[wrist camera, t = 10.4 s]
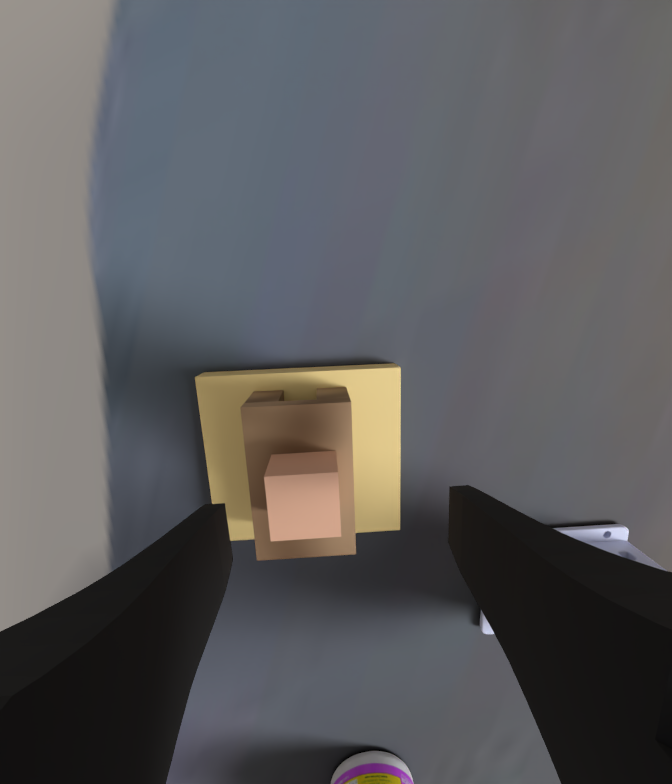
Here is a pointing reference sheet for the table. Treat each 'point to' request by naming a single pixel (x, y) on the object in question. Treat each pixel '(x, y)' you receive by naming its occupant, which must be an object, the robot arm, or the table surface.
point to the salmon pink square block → (303, 496)
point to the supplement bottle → (372, 769)
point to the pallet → (299, 435)
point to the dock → (363, 382)
